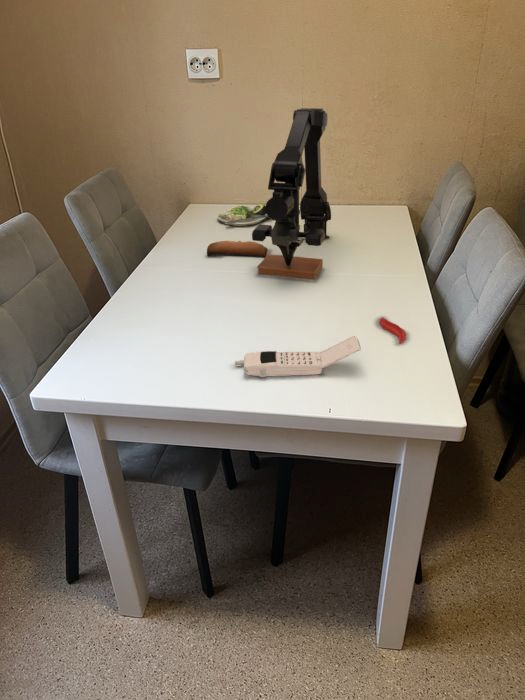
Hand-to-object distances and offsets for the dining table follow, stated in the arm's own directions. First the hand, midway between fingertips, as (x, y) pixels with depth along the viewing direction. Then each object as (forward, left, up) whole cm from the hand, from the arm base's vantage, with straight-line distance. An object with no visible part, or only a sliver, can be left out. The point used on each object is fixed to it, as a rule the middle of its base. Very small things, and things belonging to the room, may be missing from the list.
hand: (288, 265), depth 153 cm
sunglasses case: (+5, -22, -3) cm, 23 cm away
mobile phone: (+22, +42, -3) cm, 48 cm away
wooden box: (-1, -1, -3) cm, 4 cm away
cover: (-1, -1, 0) cm, 2 cm away
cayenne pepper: (-5, +39, -3) cm, 39 cm away
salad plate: (-11, -51, -3) cm, 52 cm away
